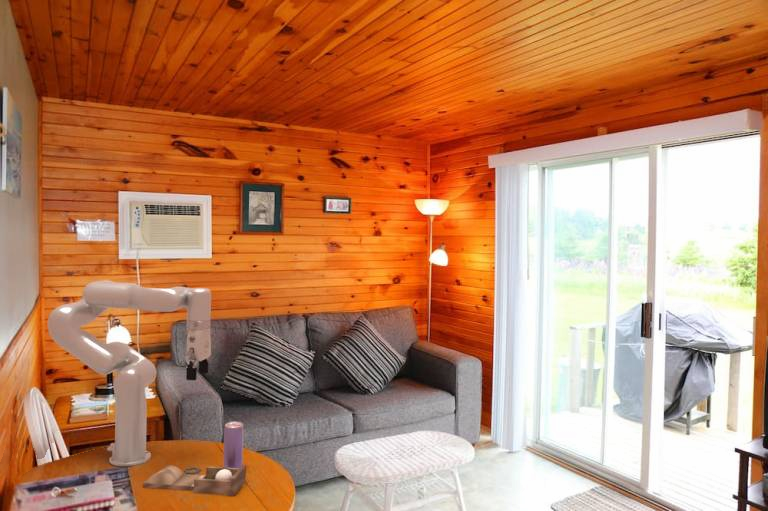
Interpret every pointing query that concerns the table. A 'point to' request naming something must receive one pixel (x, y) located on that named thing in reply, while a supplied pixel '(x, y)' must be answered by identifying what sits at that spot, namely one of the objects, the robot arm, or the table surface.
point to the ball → (224, 475)
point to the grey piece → (192, 469)
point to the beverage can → (233, 445)
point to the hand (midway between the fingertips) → (197, 376)
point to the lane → (198, 480)
